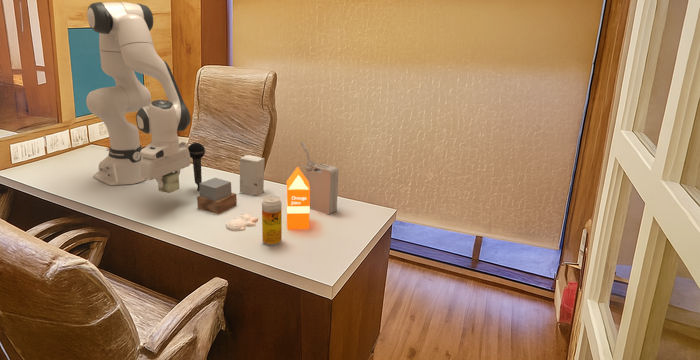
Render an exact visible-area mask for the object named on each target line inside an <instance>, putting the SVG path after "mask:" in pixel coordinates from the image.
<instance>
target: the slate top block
mask: <svg viewBox="0 0 700 360" xmlns="http://www.w3.org/2000/svg"><path fill="white" fill-rule="evenodd" d="M199 189H200V191H199V196H201V197H204V198H207V199H211V200H214V201H218V200H220V199H222V198H225V197H227V196H229V195H232V193H233V192H232V182H231V181H229V180H225V179H221V178H218V177H213V178H210V179H207V180H205V181H203V182H202V183H199Z"/></svg>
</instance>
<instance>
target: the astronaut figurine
mask: <svg viewBox="0 0 700 360" xmlns="http://www.w3.org/2000/svg"><path fill="white" fill-rule="evenodd" d="M258 220H259V218H258V217H256V216H251V214H250V213H249V214H248V213H245V212H244V213H241V215H240V216H235V217H234V219H231V220H229V221H227V222H226V224H225V227H226V229H227V230H228V231H231V232H244V231H246V227H250V228H251V227H256V223H257V222H258Z"/></svg>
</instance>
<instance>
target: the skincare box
mask: <svg viewBox="0 0 700 360" xmlns="http://www.w3.org/2000/svg"><path fill="white" fill-rule="evenodd" d="M239 161H240V162H239V193H240V194H246V195H252V196H255V197H258V196H259V195H260V194H262V193H264V186H265V184H264V182H265V157H261V156H256V155H250V154H246V155H244V156H241V157H240V159H239Z"/></svg>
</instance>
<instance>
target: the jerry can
mask: <svg viewBox="0 0 700 360" xmlns="http://www.w3.org/2000/svg"><path fill="white" fill-rule="evenodd" d="M300 145H301V147H302V148H303V151H304V152H305V155H306V160H307V162H306V163H307V165H303V169H304V170H305V172H304V173H303V175H304V176H305V177H306V179H307V180H308V182H309V187H310V209H311V210H315V211H316V212H319V213H322V214H325V215H330V214H332V213H335V212H337V210H338V192H339V191H338V187H339V169H338V167H337V166H333V165H328V164H326V163H325V164H324V163H320V164H318V163H315V162H314V161H313V160H311V158H310V153H309V150H308V148H307V146H306V144H305V142H304V141H301V142H300Z"/></svg>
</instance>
